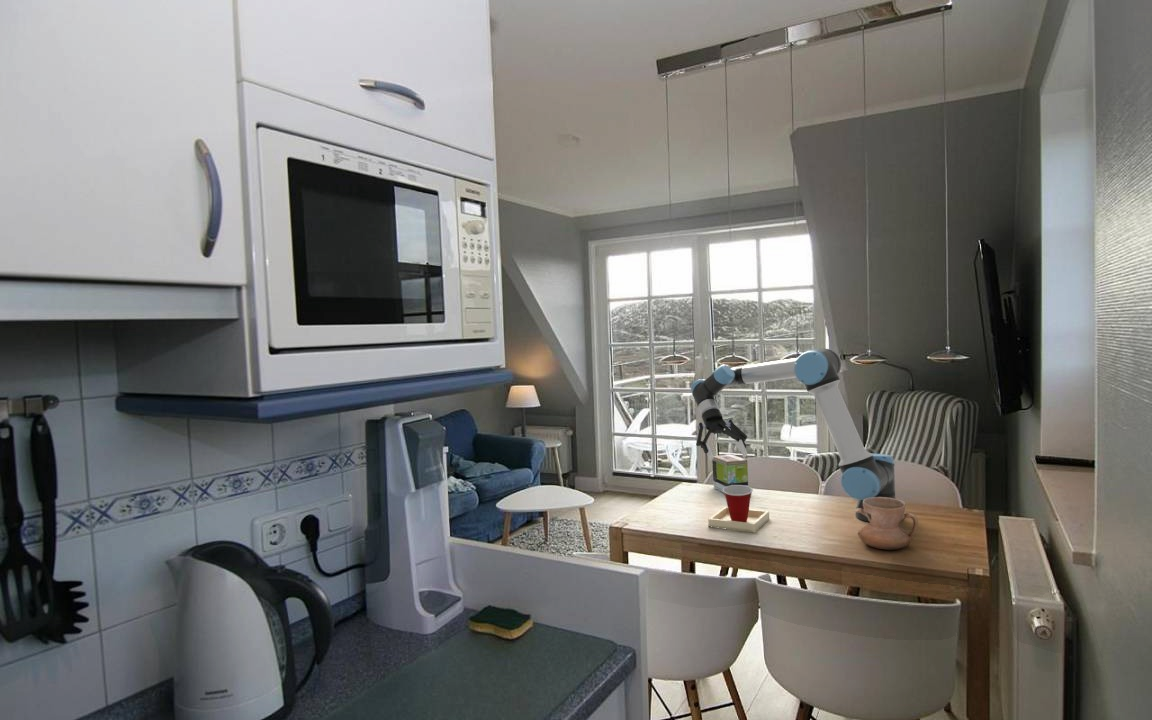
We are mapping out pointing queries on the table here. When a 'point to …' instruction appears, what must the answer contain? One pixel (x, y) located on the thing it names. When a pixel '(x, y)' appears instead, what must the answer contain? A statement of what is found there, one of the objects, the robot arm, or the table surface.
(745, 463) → the tea box
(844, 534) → the table surface
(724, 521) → the tray
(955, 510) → the table surface
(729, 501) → the plastic cup
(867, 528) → the ceramic jug
